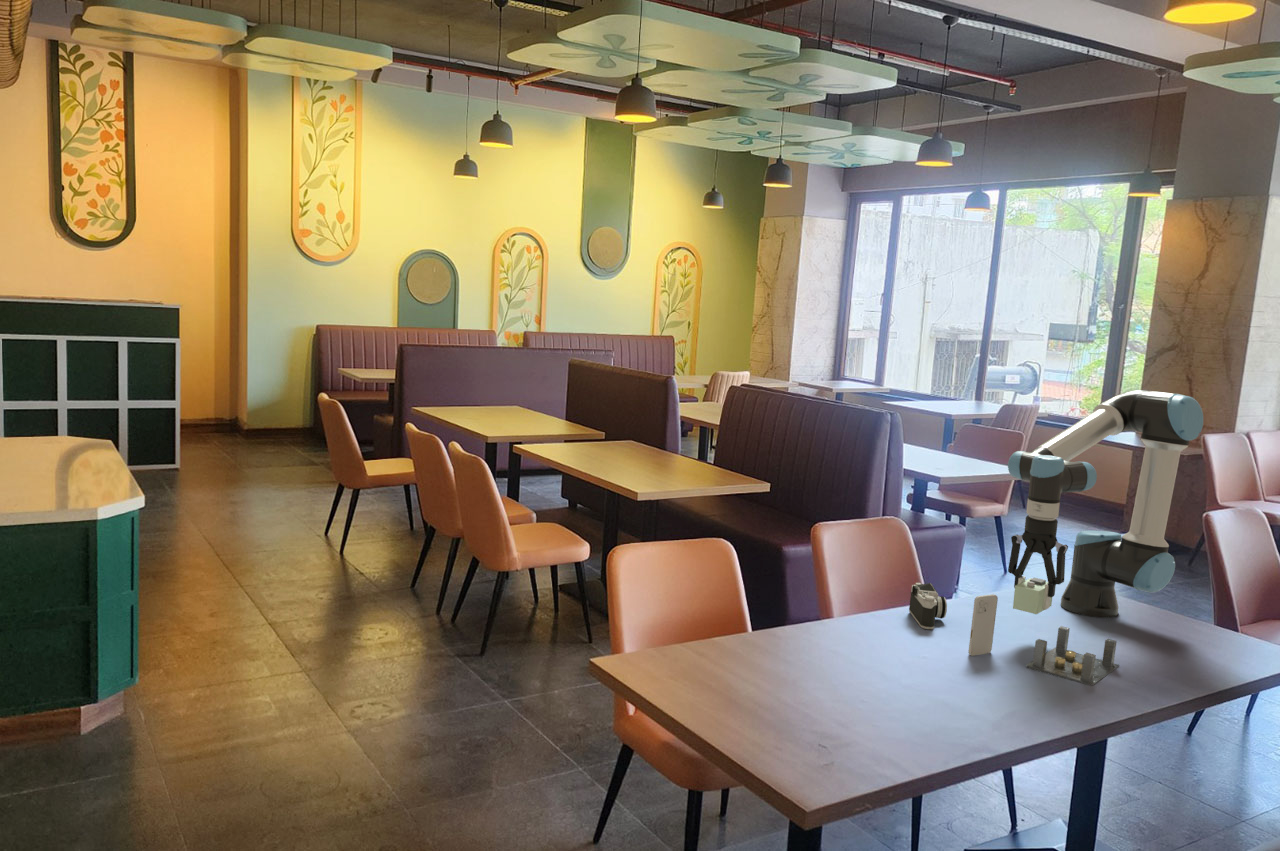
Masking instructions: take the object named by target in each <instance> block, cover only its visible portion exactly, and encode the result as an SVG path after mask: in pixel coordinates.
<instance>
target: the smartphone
mask: <svg viewBox="0 0 1280 851" xmlns="http://www.w3.org/2000/svg"><path fill="white" fill-rule="evenodd" d="M998 599H999V598H998V595H996V594H994V593H993V594H991V593H990V594H984V595H983V594H982V595H977V596H976V597H975V598H974V601H973V608H972V609H973V611H972V617H971V618H972V620H971V628H970V637H969V643H968V655H969V656H972V657H974V656H978V655H979V656H980V655H986V654H990V653H991V652H992V649H993V643H994V642H993V640H994V633H995V625H996V617H997V616H996V615H997V608H998V601H999V600H998Z"/></svg>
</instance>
